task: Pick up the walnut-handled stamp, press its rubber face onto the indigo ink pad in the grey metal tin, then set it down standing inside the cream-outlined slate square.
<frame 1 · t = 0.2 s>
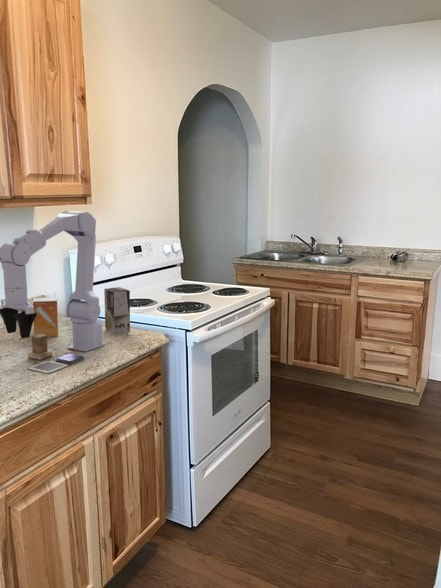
hand: (18, 335, 139), 10 cm above the countertop, fingers open, 7 cm apart
small box: (46, 335, 177), on the countertop
coffee box: (117, 332, 182), on the countertop
print mark: (48, 367, 142), on the countertop
pass stamp: (40, 357, 151), on the countertop
ink pad: (69, 361, 148), on the countertop
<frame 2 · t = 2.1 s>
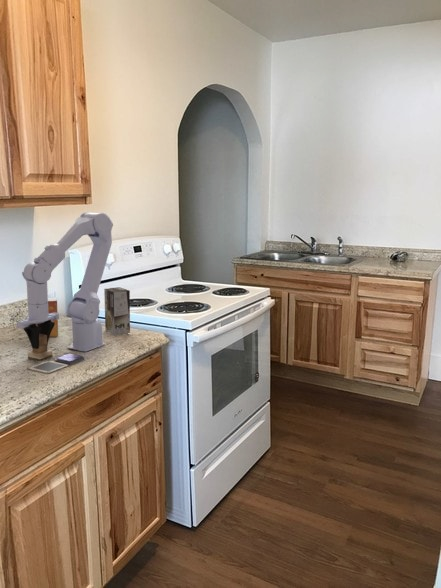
hand: (39, 346, 151), 3 cm above the countertop, fingers closed on pass stamp, 3 cm apart
pass stamp: (40, 357, 151), on the countertop, touching gripper
everything else where it was.
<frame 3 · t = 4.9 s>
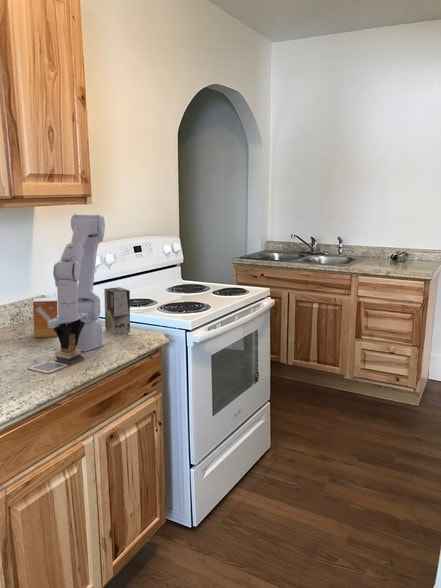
hand: (69, 346, 148), 4 cm above the countertop, fingers closed on pass stamp, 3 cm apart
pass stamp: (68, 357, 148), point 1 cm above the countertop, touching gripper, ink pad
everything else where it was.
when the fingers open (5 cm above the countertop, at t = 8.1 s): pass stamp stays where it is, resting on print mark.
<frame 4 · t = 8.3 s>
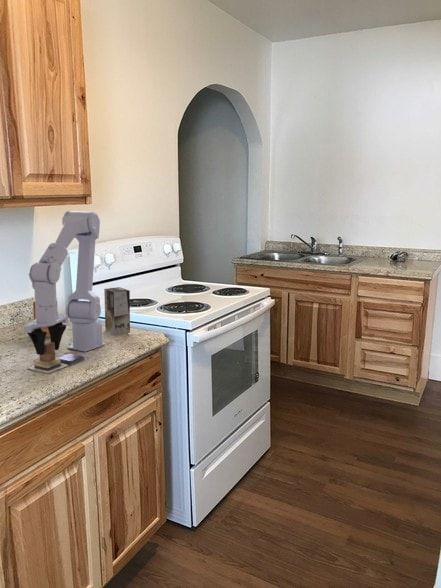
hand: (47, 351, 141), 5 cm above the countertop, fingers open, 5 cm apart
pass stamp: (47, 366, 142), resting on print mark
everything else where it was.
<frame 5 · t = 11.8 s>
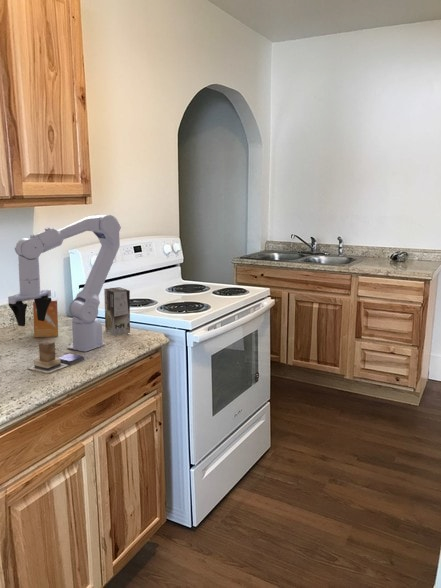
hand: (31, 323, 151), 10 cm above the countertop, fingers open, 7 cm apart
nothing on the countertop moved.
at the end: pass stamp 0.3 cm from the target spot, resting on print mark; pass stamp tilted 0°; the gripper is holding nothing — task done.
